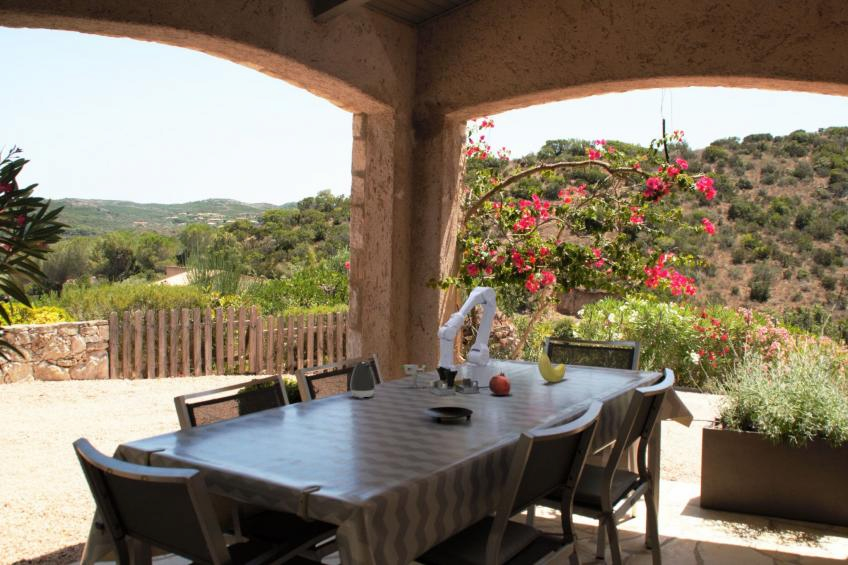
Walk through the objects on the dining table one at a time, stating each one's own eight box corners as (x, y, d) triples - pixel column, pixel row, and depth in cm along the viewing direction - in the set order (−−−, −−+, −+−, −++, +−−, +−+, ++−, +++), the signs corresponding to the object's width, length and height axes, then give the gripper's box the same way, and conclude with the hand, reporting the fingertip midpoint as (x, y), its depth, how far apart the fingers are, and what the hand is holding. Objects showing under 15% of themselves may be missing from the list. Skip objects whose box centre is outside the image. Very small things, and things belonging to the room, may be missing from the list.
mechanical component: (426, 388, 312) (426, 365, 311) (402, 388, 312) (402, 365, 311) (426, 387, 315) (426, 364, 314) (403, 387, 315) (403, 364, 314)
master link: (460, 387, 314) (460, 377, 314) (463, 389, 311) (463, 378, 311) (430, 390, 309) (430, 379, 309) (433, 391, 306) (433, 380, 306)
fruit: (486, 396, 293) (485, 372, 293) (492, 392, 302) (492, 368, 302) (507, 397, 290) (507, 373, 289) (513, 393, 298) (513, 370, 298)
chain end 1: (446, 390, 305) (446, 379, 305) (455, 394, 296) (455, 382, 296) (431, 392, 303) (431, 380, 303) (439, 396, 294) (439, 384, 294)
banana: (558, 378, 336) (558, 336, 336) (569, 379, 333) (569, 336, 332) (535, 385, 318) (535, 340, 317) (547, 386, 315) (547, 341, 314)
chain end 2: (469, 389, 309) (469, 377, 309) (479, 393, 300) (479, 381, 300) (454, 390, 307) (454, 378, 307) (464, 394, 298) (464, 382, 298)
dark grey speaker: (360, 400, 285) (360, 362, 285) (345, 397, 293) (345, 360, 292) (380, 397, 292) (380, 360, 291) (365, 393, 300) (365, 357, 299)
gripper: (432, 352, 315) (432, 383, 315) (444, 356, 301) (444, 388, 302) (446, 351, 317) (446, 382, 318) (460, 355, 304) (460, 387, 304)
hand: (446, 385), depth 310 cm, fingers open, 7 cm apart
